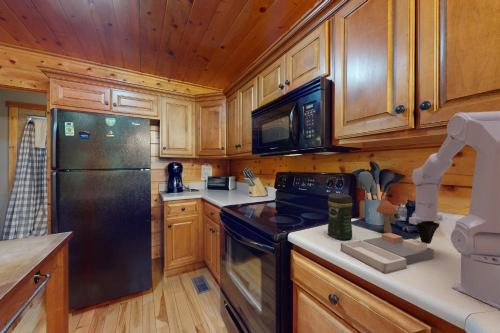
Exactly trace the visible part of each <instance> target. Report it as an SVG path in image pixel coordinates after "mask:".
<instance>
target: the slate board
mask: <svg viewBox="0 0 500 333" xmlns="http://www.w3.org/2000/svg"><path fill="white" fill-rule="evenodd" d="M403 240H405V239H404V238H402V242H401V243H396V244H393V243H390V242H387V241H385V240H382V236H380V237H374V238H368V239H363V240H362V241H365V242H367V243H369V244H372V245H374V246H377V247H379V248H381V249H384V250H386V251H389V252H391V253H394V254H396V255H398V256H401V257H403V258H406V259H407V266H408V265H409V266H410V265H414V264H417V263H421V262H424V261H429V260H434V258H435V253H434V252H435V250H434V248H430V247H428V246H427V250H422V251H415V250H412V249H410V248H407V247H404V246H403Z"/></svg>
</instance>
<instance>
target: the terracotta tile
mask: <svg viewBox="0 0 500 333" xmlns="http://www.w3.org/2000/svg"><path fill="white" fill-rule="evenodd" d="M381 237H382V240H385V241H387V242H390V243H393V244H396V243H401V242H402V239H403V236H401V235H398V234H395V233H385V232H384V233H381Z"/></svg>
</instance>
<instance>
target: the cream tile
mask: <svg viewBox="0 0 500 333" xmlns="http://www.w3.org/2000/svg"><path fill="white" fill-rule="evenodd" d="M403 246H404V247H407V248H410V249H412V250H415V251H422V250H427V247H428V244H427V243H424V242H421V240H418V239H417V240H416V239H414V238H409V239H404V240H403Z"/></svg>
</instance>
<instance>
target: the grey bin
mask: <svg viewBox="0 0 500 333" xmlns="http://www.w3.org/2000/svg"><path fill="white" fill-rule="evenodd" d="M340 251H341V252H342V253H344V254H347V255H349V256H351V257H352V258H354V259H356V260H358V261H360V262H362V263H364V264H366V265H367V266H369V267H371V268H373V269H374V270H377V271H379V272H381V273H382V274H384V275H386V274H389V273H394V272H396V271H397V272H398V271H401V270H404V269H407V268H408V267H407V266H408V265H407V259H406V258H403V257H401V256H398V255H396V254H394V253H391V252H389V251H386V250H384V249H381V248H379V247H377V246H374V245H372V244H369V243H367V242H365V241H363V240H362V239H357V240H349V241H343V242H340Z"/></svg>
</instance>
